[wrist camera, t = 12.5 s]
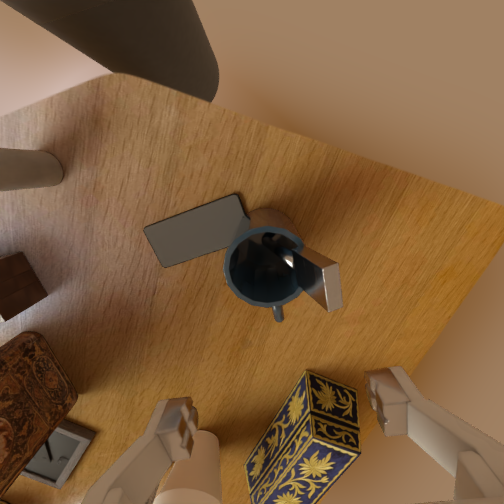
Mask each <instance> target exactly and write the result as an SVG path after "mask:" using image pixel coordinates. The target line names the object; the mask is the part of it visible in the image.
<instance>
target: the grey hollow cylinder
mask: <svg viewBox="0 0 504 504" xmlns="http://www.w3.org/2000/svg"><path fill="white" fill-rule="evenodd" d="M62 178H63V170H62V167H61V164H60V163H59V161H58V160H57V159H56V158H55V157H54V156H53V155H51V154H50V153H47V152H44V151H34V150H20V149H6V148H0V191H9V190H19V189H30V188H41V187H50V186H55V185H57V184H59V183H60V182H61V180H62Z"/></svg>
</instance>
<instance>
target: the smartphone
mask: <svg viewBox="0 0 504 504" xmlns="http://www.w3.org/2000/svg"><path fill="white" fill-rule="evenodd" d="M244 216H246V213H245V211H244V208H243V205H242V203H241V200H240V197H239V195H238V194H235V193H234V194H231V195H228V196H226V197H223V198H221V199H218V200H215V201H213V202H210V203H207V204H205V205H202V206H199V207H197V208H194V209H191V210H189V211H186V212H183V213H181V214H178V215H175V216H173V217H170V218H167V219H165V220H162V221H159V222H157V223H154V224H152V225H149V226H146V227H145V228H144V230H143V231H144V233H145V235H146V237H147V239H148V241H149V243H150V245H151V246H152V248H153V250H154V252H155V254H156V256H157V258H158V260H159V261H160V263H161V265H162V267H164V268H167V267H170V266H173V265H176V264H179V263H182V262H185V261H188V260H191V259H194V258H196V257H199V256H202V255H205V254H208V253H211V252H215V251H218V250H220V249H223V248H227V247H228V246H229V243H230V241H231V238H232V236H233V233H234V231H235V228H236V227H237V225H238V224H239V222H240V220H241V219H242V218H243V217H244Z"/></svg>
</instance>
